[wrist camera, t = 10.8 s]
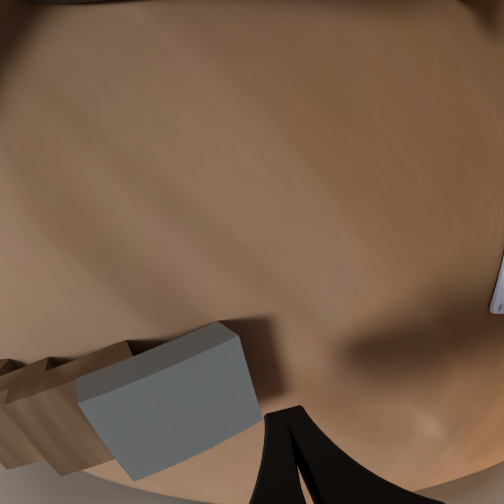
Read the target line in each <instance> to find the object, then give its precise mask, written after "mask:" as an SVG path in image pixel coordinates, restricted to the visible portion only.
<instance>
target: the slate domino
mask: <svg viewBox="0 0 504 504" xmlns="http://www.w3.org/2000/svg"><path fill="white" fill-rule="evenodd" d="M76 392H77V402H78V405H79V407H80V408H81V410H82V411H83V413H84V415H85V416H86V418H87V419H88V421H89V422H90V424H91V425H92V427H93V428H94V430H95V431H96V433H97V434H98V435H99V437H100V438H101V440H102V441H103V443H104V444H105V445H106V447H107V448H108V449H109V451H110V452H111V453H112V455H113V456H114V457H115V459H116V460H117V461H118V463H119V464H120V465H121V466H122V468H123V469H124V470H125V471H126V473H127V474H128V475H129V476H130V477H131V479H132V480H133V481H137V480H139V479H142V478H144V477H147V476H149V475H152V474H154V473H157V472H159V471H162V470H164V469H166V468H169V467H171V466H173V465H176V464H178V463H180V462H182V461H184V460H187V459H189V458H191V457H193V456H195V455H197V454H199V453H201V452H203V451H206V450H208V449H210V448H212V447H214V446H215V445H217V444H219V443H221V442H223V441H225V440H227V439H229V438H231V437H233V436H235V435H236V434H238V433H240V432H242V431H244V430H245V429H247V428H249V427H251V426H252V425H254V424H256V423H258V422H259V421H261V420H263V418H262V414H261V411H260V408H259V404H258V401H257V398H256V394H255V391H254V387H253V384H252V381H251V377H250V374H249V370H248V367H247V363H246V360H245V356H244V352H243V349H242V345H241V342H240V338H239V335H238V334H236V333H234V332H233V331H231V330H230V329H228V328H227V327H225V326H224V325H223V324H221V323H220V322H218V321H216V322H214V323H212V324H209V325H207V326H205V327H202V328H200V329H198V330H196V331H193V332H191V333H189V334H186V335H184V336H182V337H179V338H177V339H174V340H172V341H170V342H167V343H165V344H162V345H160V346H158V347H155V348H153V349H150V350H148V351H145V352H143V353H141V354H138V355H136V356H133V357H131V358H128V359H126V360H123V361H120V362H118V363H115V364H113V365H110V366H108V367H105V368H102V369H100V370H97V371H95V372H92V373H89V374H87V375H84V376H81V377H79V378H76Z"/></svg>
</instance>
